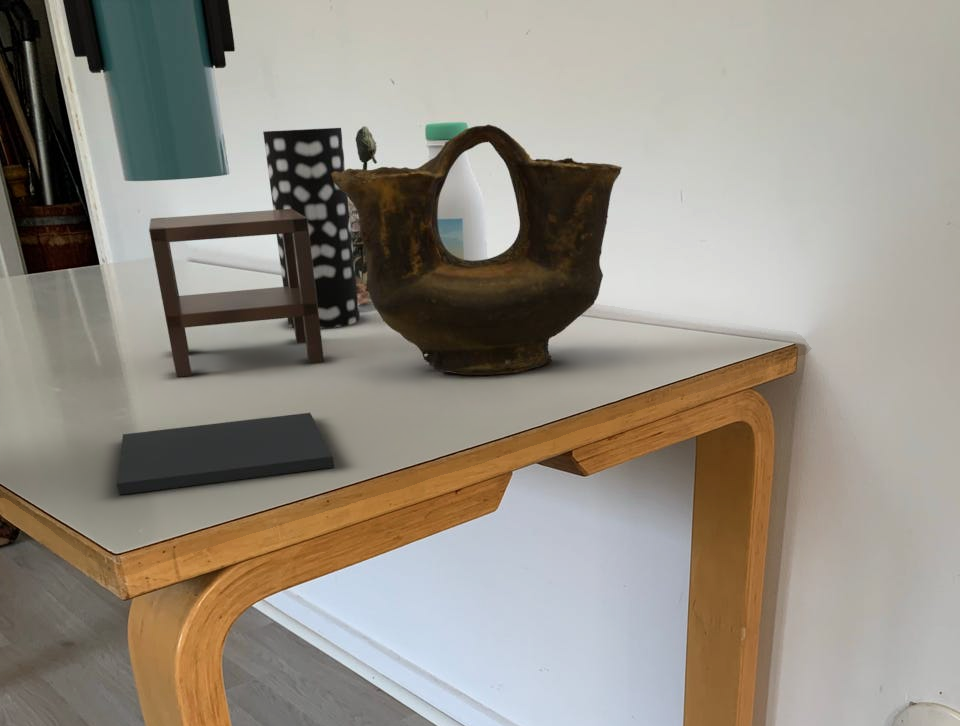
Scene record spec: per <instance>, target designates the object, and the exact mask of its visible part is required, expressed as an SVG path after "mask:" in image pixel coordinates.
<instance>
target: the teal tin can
mask: <svg viewBox="0 0 960 726" xmlns="http://www.w3.org/2000/svg"><path fill="white" fill-rule="evenodd" d="M89 1H90V6H91V12H92V17H93V22H94V27H95V32H96V37H97V42H98V47H99V52H100V58H101V63H102V68H103V70H102V72H103V79H104V83H105V89H106V94H107V99H108V103H109V109H110V113H111V114H110V115H111V120H112V124H113V131H114V134H115V139H116V144H117V149H118V154H119V160H120V165H121V170H122V176H123V180H124V181H125V182H154V181H157V182H158V181H173V180H174V181H176V180H190V179H202V178H203V179H204V178H213V177H221V176H228V175H230V169H229V161H228V155H227V149H226V142H225V135H224V128H223V122H222V117H221V115H222V114H221V109H220V104H219V96H218V95H219V94H218V89H217V81H216V75H215V67H214V66H213V62H212V55H211V48H210V42H209V35H208V28H207V22H206V15H205V8H204V2H203V0H89Z"/></svg>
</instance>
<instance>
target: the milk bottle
mask: <svg viewBox="0 0 960 726" xmlns="http://www.w3.org/2000/svg"><path fill="white" fill-rule="evenodd" d="M424 127H425V128H424V130H425V131H424V133H425V140H426V147H427V148H428V149H427V150H428V160H427V162H428V161H430V160H431V159H433V158H435V157H436V156H437V155H438V153H439V152H440V151H441V150H442V148H443V147H444V146H445V143H446V142H448V141H449V140H451V139H452V138H454V137H455V136H457V135H458V134H459V133H461V132H462V131H464V130H465V129H468V128H469V126H468V123H467V122H465V121H452V122H434V123H427V124H425V126H424ZM483 197H484V196H483V193H482V190H481V188H480V185H479V183H478V180H477V178H476V176H475V174H474V172H473V170H472V165H471V163H470V159H469V156H468V150H467V151H465V152H463V153H462V154H461V155H460V156H459V157H458V158H457V160H456V161H455V163H454V164H453V166H452V167H451V169H450V171H449V173H448V175H447V178H446V181H445V183H444V185H443V188H442V190H441V193H440V196H439V201H438V228H439V234H440V237H441V240H442V242H443V244H444V246H445V248H446V249H447V250H448V251H449V252H450V253H451V254H452V255H454V256H456V257H458V258H460V259H464V260H472V261H476V260H484V259H488V241H487V239H488V238H487V224H486V223H487V221H486V220H487V219H486V210H485V203H484V201H485V200H484V198H483Z"/></svg>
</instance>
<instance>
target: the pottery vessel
mask: <svg viewBox="0 0 960 726" xmlns="http://www.w3.org/2000/svg"><path fill="white" fill-rule="evenodd" d="M483 143H489V144H490V145H491V146H492V147H493V149H494V150H495V152H496V153H497V154H498V155H499V157H500V158H501V159H502V160H503V162H504V164H505V166H506V168H507V171H508V173H509V177H510V180H511V184H512V188H513V192H514V196H515V201H516V207H517V212H518V220H519V228H518V229H519V230H518V233H517V236H516V238H515V240H514V242H512V244H511V245H510V246H509V247H508V248H507V249H506V250H505V251H503V252H501V253H500V254H498V255H495V256H492V257H489V258H487V259H484V260H476V261H472V260H464V259H460V258H458V257H456V256H454V255H452V254H451V253H450V252H449V251H448V250H447V249H446V248H445V246H444V244H443V242H442V240H441V237H440V234H439V228H438V201H439V196H440V193H441V190H442V188H443V185H444V183H445V181H446V178H447V175H448V173H449V171H450V169H451V167H452V166H453V164H454V163H455V161H456V160H457V158H458V157H459V156H460V155H461V154H462V153H463V152H465V151H467V152H468V151H469V150H472V149H473V148H475V147H477V146H478V145H480V144H483ZM622 169H623V167H622V166H618V165H615V164H610V163H596V162H578V161H576V160H574V159H573V158H572V157H566V158H563V159H557V160H553V159H548V158H535V159H533V158H531V156H530V154H529V153H528V152H527V151H526V149H525V148H524V147H523V146H522V145H521V144H520V143H519V142H518V141H516V139H514V138H513V137H512V136H511V135H510V134H509V133H507V132H506V131H505V130H503V129H502V128H500V127H498V126H495V125H492V124H486V125H475V126H471V127H468V129H465V130H464V131H462V132H461V133H459V134H458V135H457V136H455V137H454V138H452V139H451V140H449V141H448V142H446V143H445V146H444V147H443V148H442V150H441V151H440V152H439V153H438V155H437V156H436V157H435V158H433V159H431V160H430V161H428V160H427V161H426V162H425V163H424V164H422V165H421V166H419V167H417V168H409V167H407V166H404V167H395V166H394V167H393V166H391V167H388V166H381V167H377V168H375V169H367V170H363V168H355V169H354V168H347V169H345V171H343V172H341V173H340V172H333V173H331V175H332V178H333V181H334V183H335V184H336V185H337V186H338V188H339V189H340V190H341V191H342V192H344V193H345V194H346V195H347V197H348V199H350V201H351V202H352V203H353V204H354V206H355V208H356V209H357V212H358V215H359V223H360V236H361V238H362V242H363V244H364V246H365V249H366V256H367V280H366V287H367V289H368V292H369V294H370V297H371V301H370V302H371V303H372V305H373V307H374V308H375V310H376V311H377V313H378V315H379V316H380V318H381V319H382V321H383V322H384V323H385V324H386V325H387V326H388V327H389V328H390V329H391V330H393V331H394V332H396V333H398V334H399V335H401V336H402V338H403V339H405V340H406V341H408V342H410V343H412V344H413V345H415V346H416V347H417V348H418V349H419V351H420V353H421V354H422V357H423V360H424V361H425V362H426V363H428V364H429V366H432V368H434V370H437V371H440V372H445V373H448V372H449V373H454V374H456V375H465V376H467V375H468V376H482V375H483V376H486V375H502V374H510V373H511V374H512V373H518V372H524V371H528V370H531V369H534V368H537V367H538V368H539V367H542V366H544V365H545V364H550V363H551V362H552V360H553V359H552V355H551V353H550V351H549V341H550V339H552V338H553V337H556V336H557V335H559V334H561V332H563V331H565V330H566V329H567V327H569V326H570V325H571V324H572V323H574V322H575V321H576V320H577V319H578V318H579V317H581V316H582V315H583V314H584V313H585V312H587V311H588V310H589V309H590V308H592V307H593V306H594V304H595V302H596V300H597V299H598V298H599V294H600V289H601V285H602V281H603V278H604V274H603V272H602V268H601V263H600V260H601V255H602V251H603V250H602V249H603V243H604V237H605V232H606V227H607V224H608V217H609V216H608V214H609V207H610V201H611V195H612V192H613V187H614V184H615V182H616V180H618V177H619V176H620V174H621V173H622Z"/></svg>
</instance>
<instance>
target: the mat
mask: <svg viewBox="0 0 960 726" xmlns="http://www.w3.org/2000/svg"><path fill="white" fill-rule="evenodd" d="M332 468H335V460H334V455H333V453H332V452H331V450H330V448H329V446H328V444H327V442H326V441H325V438H324V436H323V434H322V432H321V431H320V428H319V427H318V425H317V423H316V421H315V418H314V417H313V415H312V413H311V412H302V413H296V414H287V415H285V414H284V415H278V416H270V417H268V416H267V417H261V418H252V419H244V420H243V419H242V420H235V421H234V420H233V421H226V422H216V423H210V424H199V425H192V426H183V427H175V428H165V429H157V430H148V431H140V432H130V433H123V434H122V440H121V448H120V454H119V462H118V470H117V477H116V489H117V494H118V495H119V496H123V495H130V494H138V493H145V492H153V491H161V490H162V491H163V490H168V489H169V490H170V489H176V488H183V487H192V486H200V485H207V484H216V483H223V482H231V481H238V480H240V481H241V480H247V479H253V478H262V477H263V478H264V477H269V476H278V475H286V474H292V473H293V474H294V473H300V472H309V471H316V470H317V471H318V470H324V469H325V470H326V469H332Z"/></svg>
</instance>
